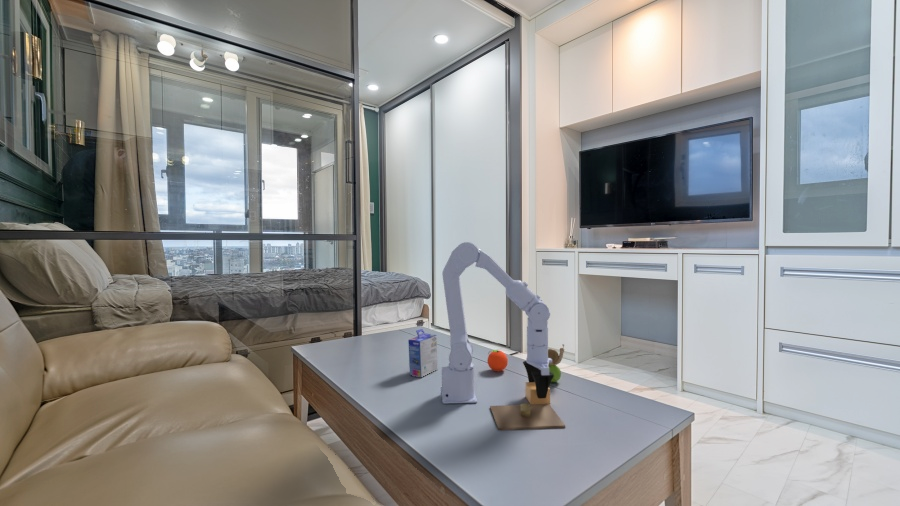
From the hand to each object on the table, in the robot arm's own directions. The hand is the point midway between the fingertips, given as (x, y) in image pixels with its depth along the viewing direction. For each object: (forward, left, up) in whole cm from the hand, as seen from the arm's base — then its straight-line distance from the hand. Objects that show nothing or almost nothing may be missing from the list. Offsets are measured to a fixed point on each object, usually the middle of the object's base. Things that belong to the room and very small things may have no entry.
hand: (537, 392), depth 105 cm
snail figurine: (+9, +13, -2) cm, 16 cm away
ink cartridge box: (-32, +25, -2) cm, 41 cm away
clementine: (-7, +25, -2) cm, 26 cm away
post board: (-6, -10, -2) cm, 12 cm away
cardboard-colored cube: (0, 0, -2) cm, 2 cm away
